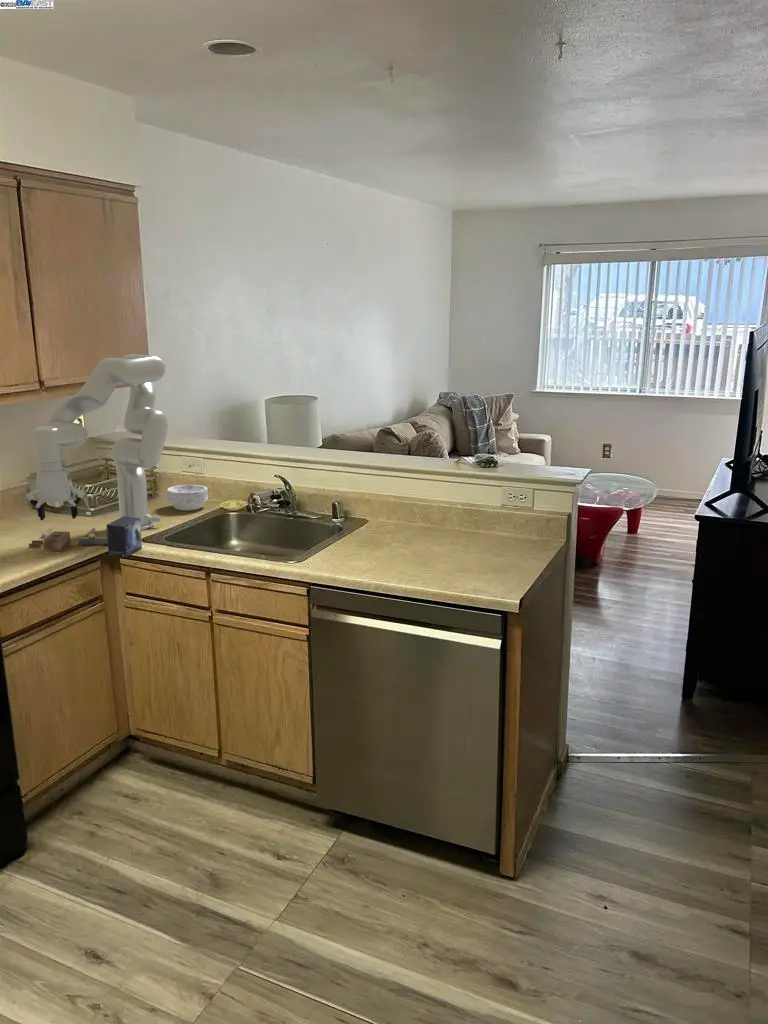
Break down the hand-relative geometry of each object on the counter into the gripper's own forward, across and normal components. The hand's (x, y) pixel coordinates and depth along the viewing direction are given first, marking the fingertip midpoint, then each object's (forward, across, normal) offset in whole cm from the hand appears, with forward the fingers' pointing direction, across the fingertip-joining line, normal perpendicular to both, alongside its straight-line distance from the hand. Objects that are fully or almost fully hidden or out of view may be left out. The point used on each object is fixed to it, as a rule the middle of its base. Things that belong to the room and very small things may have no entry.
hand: (58, 518), depth 249 cm
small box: (+10, -21, +8) cm, 24 cm away
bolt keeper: (+10, +9, -2) cm, 13 cm away
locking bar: (+10, -11, -2) cm, 15 cm away
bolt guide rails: (+10, +1, -14) cm, 17 cm away
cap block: (+10, +1, +1) cm, 10 cm away
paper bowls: (+14, -35, -48) cm, 60 cm away
